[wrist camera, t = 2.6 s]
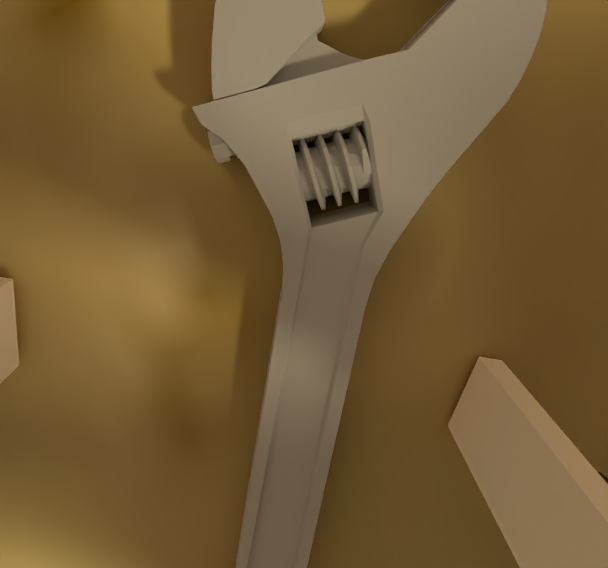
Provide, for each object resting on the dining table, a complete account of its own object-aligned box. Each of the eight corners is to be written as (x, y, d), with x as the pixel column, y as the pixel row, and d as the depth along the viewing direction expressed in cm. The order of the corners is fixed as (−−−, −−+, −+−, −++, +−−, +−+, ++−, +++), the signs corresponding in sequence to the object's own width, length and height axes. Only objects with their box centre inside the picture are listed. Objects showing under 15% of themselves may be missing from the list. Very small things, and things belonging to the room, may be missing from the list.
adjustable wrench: (288, 615, 18) (287, 665, 16) (140, 600, 17) (125, 651, 16) (549, -80, 8) (610, -124, 7) (243, -186, 8) (231, -264, 6)
